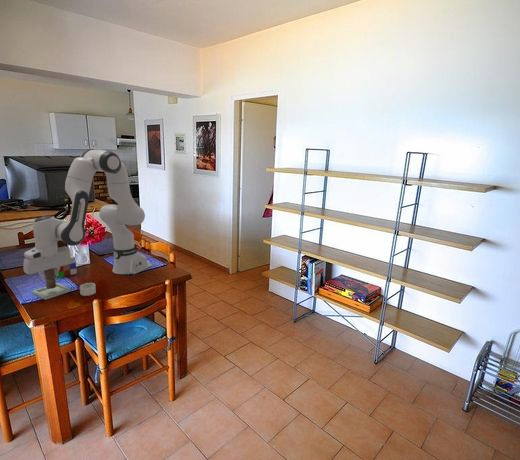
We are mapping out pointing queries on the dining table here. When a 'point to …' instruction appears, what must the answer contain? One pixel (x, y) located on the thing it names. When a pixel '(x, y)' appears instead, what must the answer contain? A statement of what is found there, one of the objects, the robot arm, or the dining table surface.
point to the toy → (67, 268)
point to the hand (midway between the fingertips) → (50, 277)
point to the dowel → (50, 278)
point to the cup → (87, 289)
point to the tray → (51, 291)
